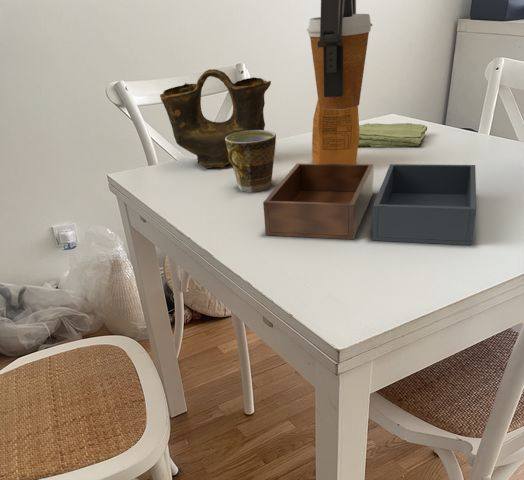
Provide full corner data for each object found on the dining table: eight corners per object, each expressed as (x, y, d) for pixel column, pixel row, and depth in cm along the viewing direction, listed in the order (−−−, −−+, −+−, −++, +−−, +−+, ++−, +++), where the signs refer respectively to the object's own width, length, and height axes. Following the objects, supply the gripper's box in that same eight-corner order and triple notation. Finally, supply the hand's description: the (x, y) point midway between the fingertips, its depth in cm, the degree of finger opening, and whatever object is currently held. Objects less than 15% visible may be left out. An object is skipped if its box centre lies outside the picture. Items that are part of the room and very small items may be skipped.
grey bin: (470, 196, 97) (475, 164, 94) (470, 245, 80) (476, 208, 77) (388, 194, 101) (390, 164, 98) (371, 240, 84) (373, 205, 81)
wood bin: (372, 194, 102) (373, 164, 99) (353, 239, 85) (354, 205, 82) (297, 192, 106) (296, 163, 103) (265, 235, 89) (263, 202, 86)
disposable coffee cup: (327, 115, 80) (327, 20, 73) (298, 106, 87) (295, 19, 80) (382, 105, 83) (386, 13, 76) (349, 97, 90) (350, 13, 83)
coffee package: (355, 156, 124) (358, 47, 111) (359, 172, 113) (362, 54, 101) (312, 158, 125) (309, 51, 112) (312, 175, 114) (309, 58, 102)
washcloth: (422, 148, 125) (423, 133, 123) (346, 147, 130) (347, 133, 129) (427, 134, 135) (428, 120, 133) (357, 134, 140) (357, 121, 139)
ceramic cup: (246, 177, 117) (242, 128, 111) (287, 181, 112) (284, 131, 107) (213, 196, 108) (206, 145, 102) (255, 202, 103) (251, 148, 98)
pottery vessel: (276, 153, 131) (270, 61, 120) (275, 165, 122) (269, 68, 111) (175, 160, 133) (160, 71, 122) (167, 173, 124) (150, 78, 113)
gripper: (328, -89, 80) (329, 80, 93) (291, -102, 64) (298, 105, 76) (379, -95, 78) (373, 78, 91) (355, -111, 61) (351, 104, 74)
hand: (339, 90), depth 84 cm, fingers closed on disposable coffee cup, 8 cm apart
